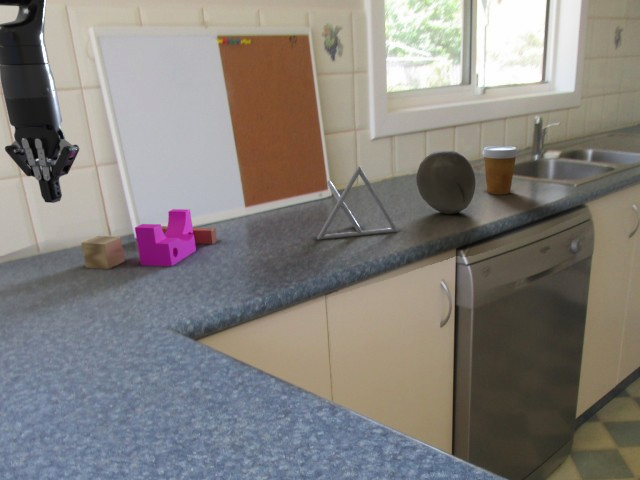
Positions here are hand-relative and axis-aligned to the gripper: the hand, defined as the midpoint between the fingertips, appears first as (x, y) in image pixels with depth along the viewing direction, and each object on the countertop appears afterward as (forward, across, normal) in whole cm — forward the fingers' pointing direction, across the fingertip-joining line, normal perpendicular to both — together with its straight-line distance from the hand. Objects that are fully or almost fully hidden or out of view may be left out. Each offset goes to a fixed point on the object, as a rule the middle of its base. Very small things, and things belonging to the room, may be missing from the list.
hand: (52, 201), depth 112 cm
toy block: (+15, -9, -19) cm, 26 cm away
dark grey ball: (+15, -56, -62) cm, 85 cm away
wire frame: (+15, -39, -42) cm, 60 cm away
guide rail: (+15, -5, -28) cm, 32 cm away
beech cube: (+15, 0, -10) cm, 18 cm away
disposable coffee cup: (+15, -67, -89) cm, 112 cm away
